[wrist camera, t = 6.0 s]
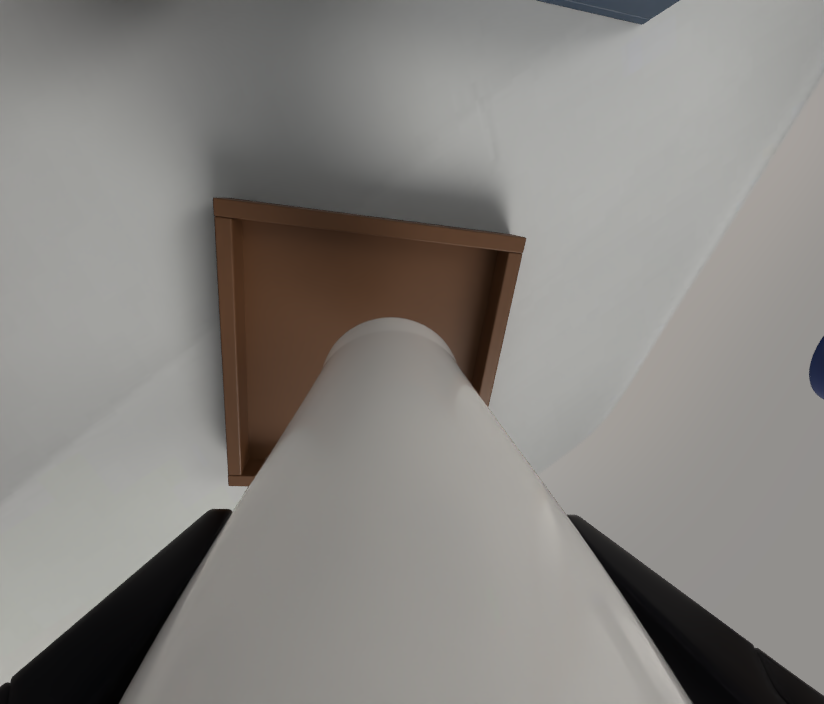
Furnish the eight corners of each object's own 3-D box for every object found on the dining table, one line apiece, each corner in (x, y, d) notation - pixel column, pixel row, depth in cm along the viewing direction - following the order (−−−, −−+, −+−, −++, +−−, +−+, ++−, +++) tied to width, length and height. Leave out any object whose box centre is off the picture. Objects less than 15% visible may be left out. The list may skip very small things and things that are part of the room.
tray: (462, 469, 24) (470, 491, 22) (239, 462, 22) (228, 486, 20) (511, 234, 19) (526, 237, 17) (228, 197, 17) (212, 197, 15)
